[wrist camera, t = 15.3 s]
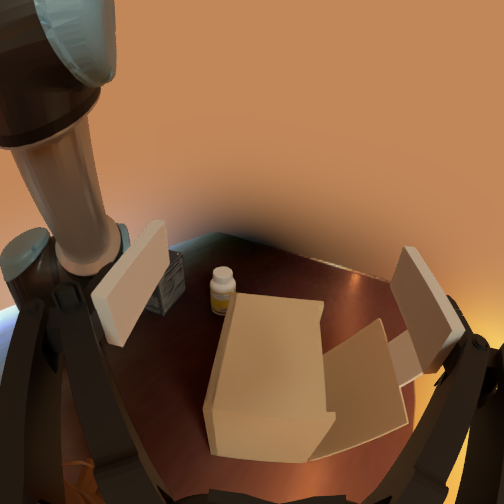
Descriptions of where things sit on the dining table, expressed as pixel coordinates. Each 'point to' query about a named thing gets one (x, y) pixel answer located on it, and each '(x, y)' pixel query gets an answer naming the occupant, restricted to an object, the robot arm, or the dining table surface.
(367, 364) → the front flap
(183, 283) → the small box
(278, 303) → the carton
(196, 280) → the dining table surface
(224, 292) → the supplement bottle
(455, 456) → the robot arm
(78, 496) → the lantern
